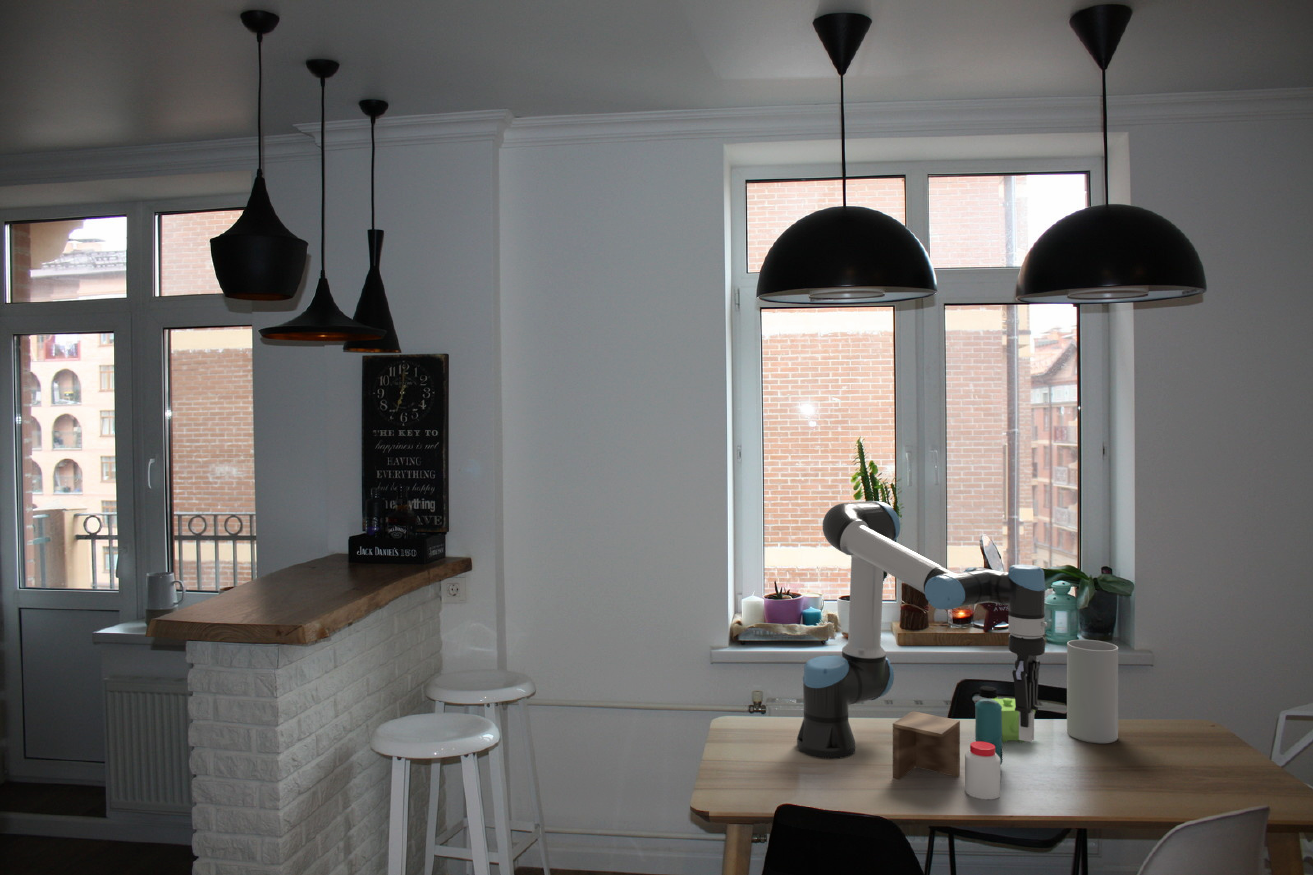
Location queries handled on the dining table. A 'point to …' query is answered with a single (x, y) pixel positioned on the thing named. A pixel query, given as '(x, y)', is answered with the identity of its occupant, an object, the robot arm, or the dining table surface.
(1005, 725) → the teapot
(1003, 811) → the dining table surface
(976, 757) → the pill bottle
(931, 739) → the awning shelf
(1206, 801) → the dining table surface
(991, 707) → the beverage bottle
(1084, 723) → the cylinder vase
